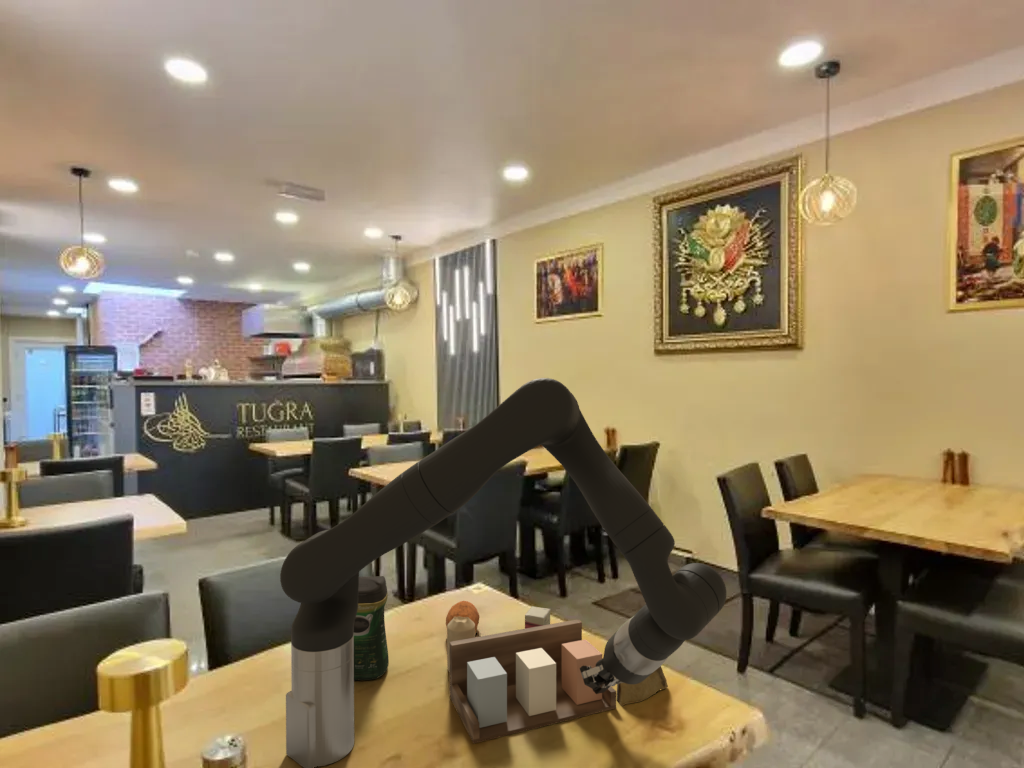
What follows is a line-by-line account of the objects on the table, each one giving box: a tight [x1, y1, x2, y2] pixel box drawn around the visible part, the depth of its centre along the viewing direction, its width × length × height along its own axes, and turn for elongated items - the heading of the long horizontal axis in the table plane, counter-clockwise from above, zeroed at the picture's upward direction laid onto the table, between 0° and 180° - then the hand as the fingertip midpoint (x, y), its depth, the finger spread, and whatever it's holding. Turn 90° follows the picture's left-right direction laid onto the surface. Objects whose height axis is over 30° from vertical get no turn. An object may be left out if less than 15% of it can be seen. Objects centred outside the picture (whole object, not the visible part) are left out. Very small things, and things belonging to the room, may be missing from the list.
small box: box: [524, 605, 551, 629], centre depth 122 cm, size 5×4×8 cm
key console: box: [449, 618, 617, 744], centre depth 102 cm, size 14×26×10 cm, turn 112°
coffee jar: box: [354, 575, 389, 681], centre depth 113 cm, size 10×8×19 cm
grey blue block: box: [467, 657, 507, 728], centre depth 97 cm, size 6×5×8 cm
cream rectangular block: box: [516, 648, 556, 716], centre depth 101 cm, size 6×5×8 cm
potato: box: [445, 600, 480, 634], centre depth 129 cm, size 7×13×7 cm, turn 176°
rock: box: [616, 665, 669, 707], centre depth 105 cm, size 11×9×10 cm
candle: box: [446, 616, 476, 673], centre depth 114 cm, size 6×6×10 cm
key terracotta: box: [562, 639, 603, 705], centre depth 104 cm, size 6×5×8 cm
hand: (596, 687), depth 99 cm, fingers closed
